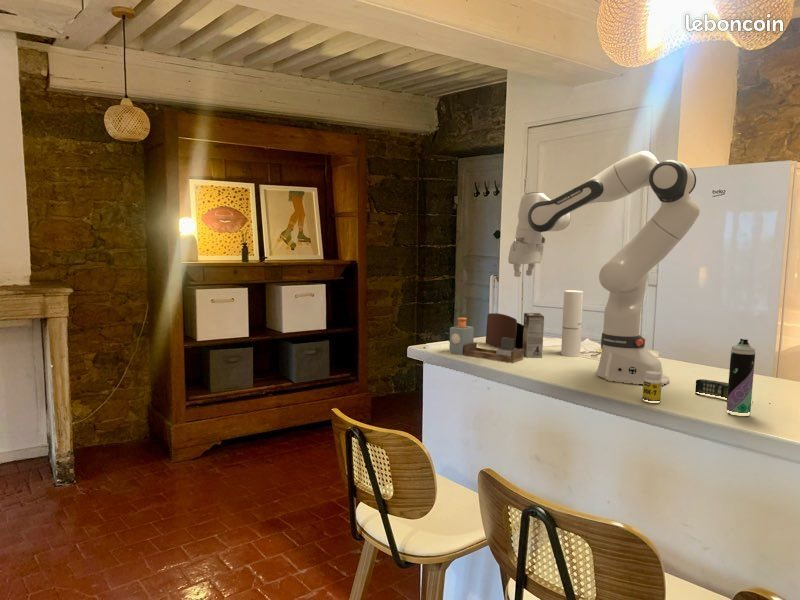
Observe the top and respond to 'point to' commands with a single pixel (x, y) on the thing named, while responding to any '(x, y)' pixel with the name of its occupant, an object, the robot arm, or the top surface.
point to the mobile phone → (712, 387)
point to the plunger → (462, 322)
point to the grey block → (460, 339)
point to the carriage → (506, 347)
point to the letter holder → (503, 330)
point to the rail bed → (491, 353)
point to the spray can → (741, 377)
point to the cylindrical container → (572, 323)
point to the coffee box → (533, 335)
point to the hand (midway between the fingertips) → (523, 276)
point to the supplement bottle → (652, 386)
